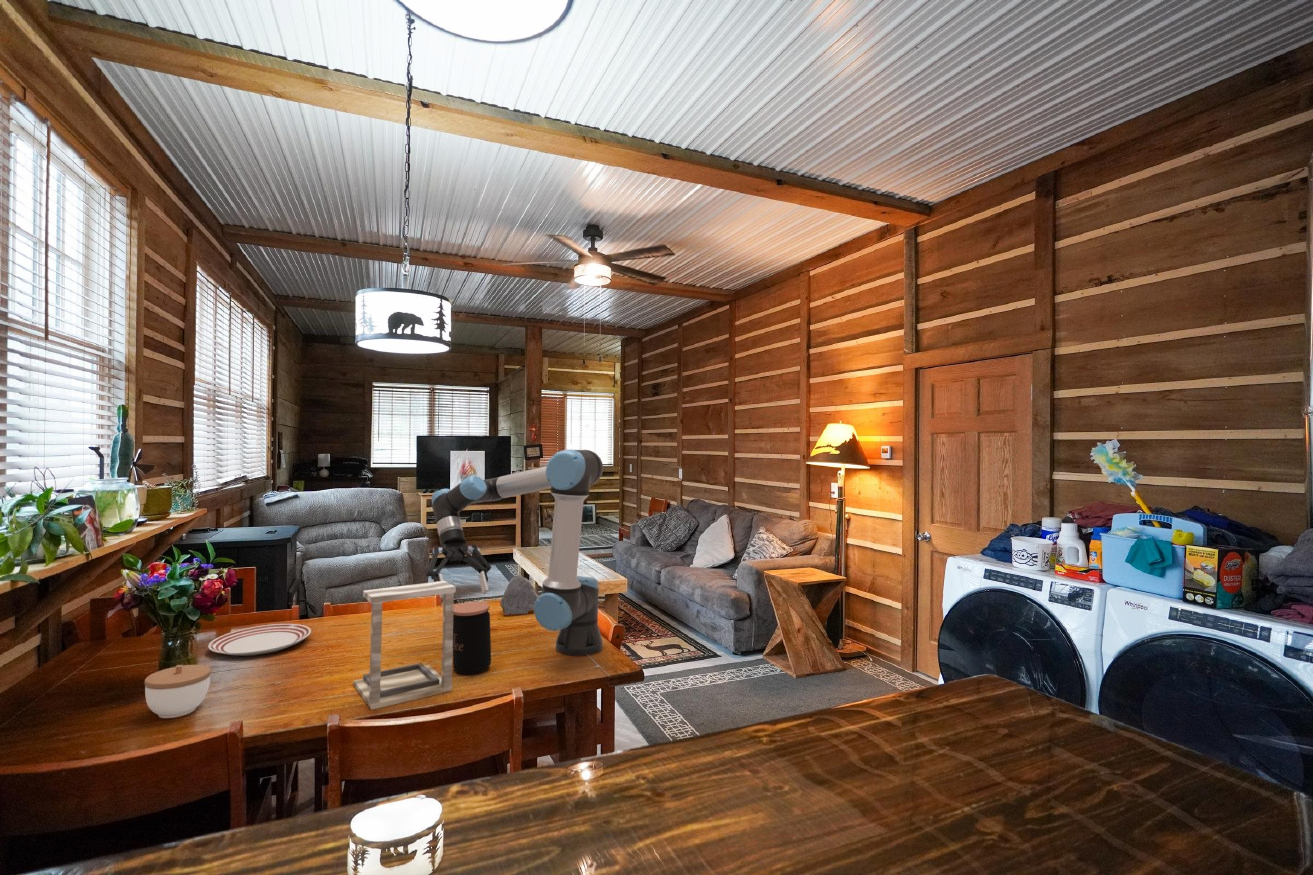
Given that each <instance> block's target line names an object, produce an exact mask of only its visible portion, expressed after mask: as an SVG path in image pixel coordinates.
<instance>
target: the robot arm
mask: <svg viewBox="0 0 1313 875" xmlns="http://www.w3.org/2000/svg"><path fill="white" fill-rule="evenodd" d="M603 472H604V464H603V461H602V459H601V457H600V456H599V455H598V454H597V453H596V452H594V451H593V450H589V449H572V448H571V449H565V450H560V451H557V452H556V453H555V454H553V455H552V456H551V457H550V458H549V460H548V461H547V464H546V465H545V466H541V467H536V468H532V469H528V470H524V471H519V472H515V473H510V474H506V475H502V476H498V477H494V478H488V479H483V478H481V477H480V476H477V475H476V474H473V475H470V476H468V477H467V478H465V479H463V480H462V481H461V482H459V483H458V484H457V485H456V486H454V487H453V488H451V489H450V488H443V489H442V488H441V489H440V490H436V491H435V492H434V493H433V494H432V495H431V508H432V511H433V515H434V519H435V523H436V529H437V534H438V536H439V538H438V540H439V543H440V547H439V546H438V545H434V547H433V548H432V550H431V558H430V561H429V564H428V567H427V570H426V573H425V576H426V577H427V578H429V577H431V579H432V580H433V582H438V581H444V579H443V574H442V573H441V571H442V569H443V568H444V567H445V565H446V564H447V562H448V561H450V562H455V561H458V562H459V561H462V562H464V563H466V564H467V565H468V566H470V567H471V568H472V569H474V570H475V571H476V572H478V573H479V574H478V575H477V576H478V581H479V584H480V589H481V591H482V595H486V593H487V592H488V591H489V585H488V581H489V577H488V573H489V571H490V570H491V569H492V566H491V564H490V563H489V562H488V561H487V559H486V558H485V557H484V556H483V555H482V553H481V552H480V551H479V549H478V547H477V544H475V543H473V544H472V545H469V546H468V545H467V543H466V538H465V533H464V531H463V529H464V527H463V524H462V521H461V516H460V512H462V511H464V510H465V509H466V508H468V507H469V506H471V505H472V504H477V503H478V504H480V503H484V502H495V501H496V502H497V501H500V500H503V499H506V498H507V499H508V498H511V497H515V496H521V495H525V494H529V493H535V492H539V491H540V492H541V491H544V490H549V489H550V494H551V495H552V496H553V498H554V509H553V521H552V531H551V542H550V553H549V556H550V557H549V562H548V563H549V565H548V576H547V577H545V579H544V580H543V581H542V585H541V594H540V595H538V598H537V600H536V601H535V604H534V609H533V614H534V618H535V619H536V621H537V622H538V623H539V624H540V626H541V627H542V628H544V629H545V630H547V631H552V632H556V631H558V634H557V638H556V640H555V650H556V651H557V653H559V654H562V655H565V656H576V657H579V656H589V655H593V654H597V653H600V652H601V651H602V650H603V645H604V644H603V643H604V642H603V639H602V638H603V637H602V635H601V632H600V631H601V630H600V627H599V624H598V621H599V619H598V617H599V616H598V615H599V614H598V613H599V591H600V589H599V580H598V579H597V578H595V577H591V576H582V575H581V576H580V575H578V566H579V555H580V546H581V545H580V544H581V535H582V532H581V531H582V523H583V522H582V521H583V512H584V511H583V510H584V501H585V500H586V499H587V498H588V497H590V488H591V486H592V485H595V484H596V483H597V482H599V480H600V479H601V477H602V475H603ZM440 553H441V554H442V555H443V556H444V558H443V559H442V561H441V562H440V564H439V565H438V566H437V568H436V569H435V570H434V568H435V566H436V562H437V560H438V558H439V555H440ZM439 598H440V599H444V594H439Z"/></svg>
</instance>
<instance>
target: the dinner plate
mask: <svg viewBox="0 0 1313 875" xmlns="http://www.w3.org/2000/svg"><path fill="white" fill-rule="evenodd" d="M311 633H312V629H311V628H310V627H308V626H307V625H303V624H299V623H298V624H297V623H273V624H265V625H259V626H258V625H257V626H252V627H247V628H241V629H239V630H235V631H232V632H229V633H225V634H224V635H223V634H222V635H221V636H218V637H217V638H215V639H213V640H211V641H210V642H209V643H208V645H207V648H208V649H209V651H211V652H213V653H216V654H217V653H218V654H221V655H222V654H223V655H228V656H229V655H230V656H240V657H241V656H242V657H247V656H248V657H249V656H258V655H266V654H271V653H276V652H279V651H282V650H286V649H287V648H289V647H292V646H293V645H296V644H299V643H300V642H301V641H303V640H305V639H306V638H307V637H309V635H311Z"/></svg>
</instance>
